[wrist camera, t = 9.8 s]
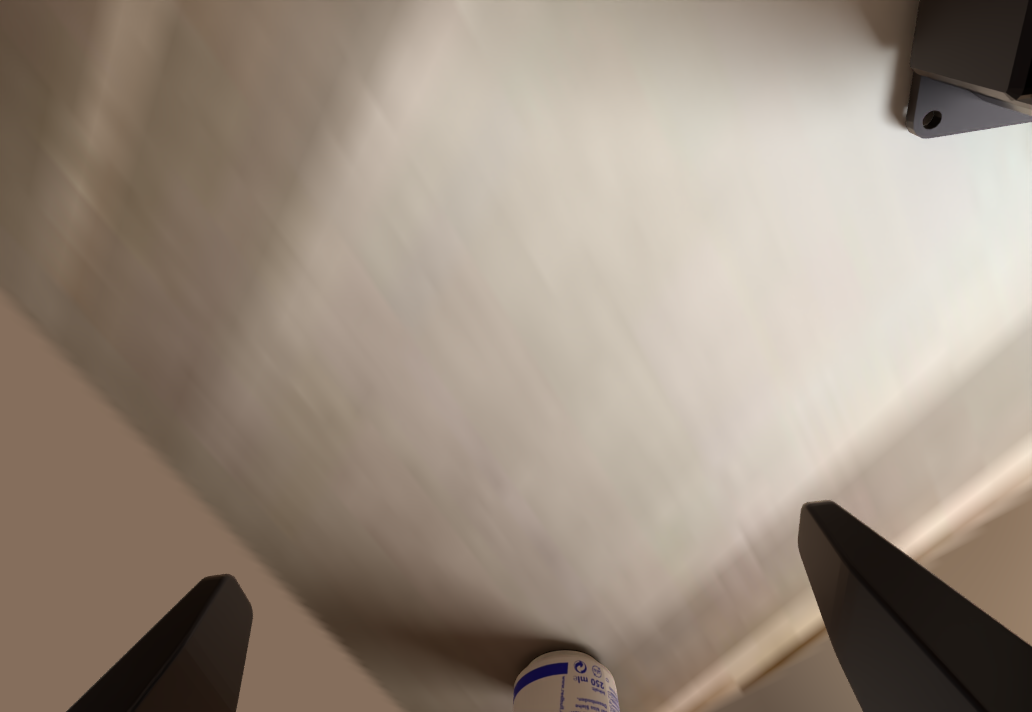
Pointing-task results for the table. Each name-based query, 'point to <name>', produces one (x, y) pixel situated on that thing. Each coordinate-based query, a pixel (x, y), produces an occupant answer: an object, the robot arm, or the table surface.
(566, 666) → the beverage can
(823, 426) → the table surface
